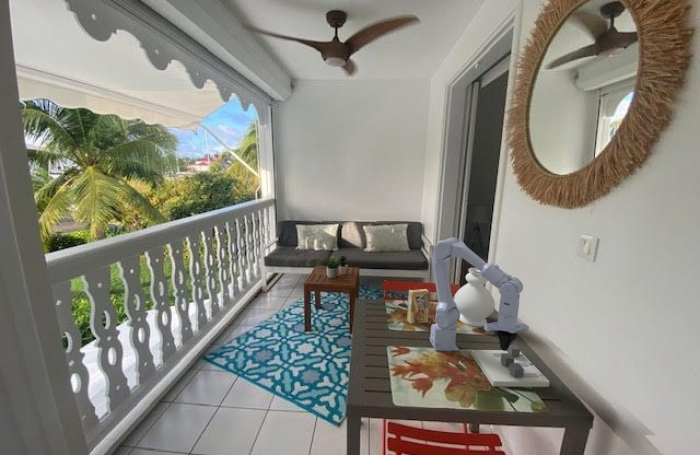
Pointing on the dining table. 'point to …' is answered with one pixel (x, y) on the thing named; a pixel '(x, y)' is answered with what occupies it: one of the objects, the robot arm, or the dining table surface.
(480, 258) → the robot arm
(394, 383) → the dining table surface
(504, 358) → the dark gray cube
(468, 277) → the decorative vase
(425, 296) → the candy box
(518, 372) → the gray cube
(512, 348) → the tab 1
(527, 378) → the switch panel
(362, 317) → the dining table surface
